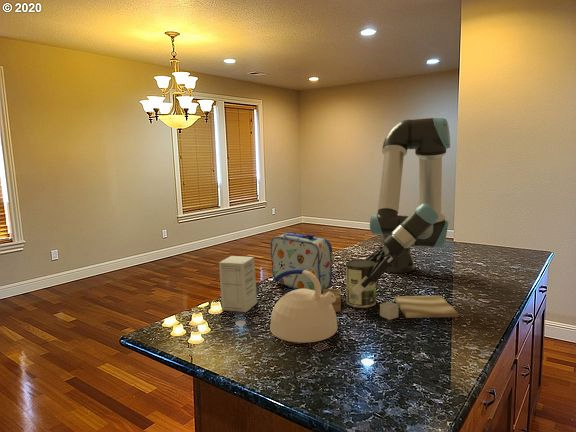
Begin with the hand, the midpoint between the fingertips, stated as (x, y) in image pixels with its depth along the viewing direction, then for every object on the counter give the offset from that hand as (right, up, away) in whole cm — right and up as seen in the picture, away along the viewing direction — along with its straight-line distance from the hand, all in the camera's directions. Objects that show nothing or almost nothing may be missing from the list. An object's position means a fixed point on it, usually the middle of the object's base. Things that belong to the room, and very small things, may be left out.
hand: (352, 286), depth 140 cm
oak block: (-7, -6, +2) cm, 9 cm away
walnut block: (-8, -7, -5) cm, 12 cm away
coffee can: (+3, -6, +1) cm, 7 cm away
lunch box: (-17, -4, +18) cm, 25 cm away
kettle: (-18, -9, -18) cm, 27 cm away
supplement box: (-39, -7, 0) cm, 40 cm away
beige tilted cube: (+10, -7, -12) cm, 17 cm away
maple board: (+23, -6, -6) cm, 24 cm away
